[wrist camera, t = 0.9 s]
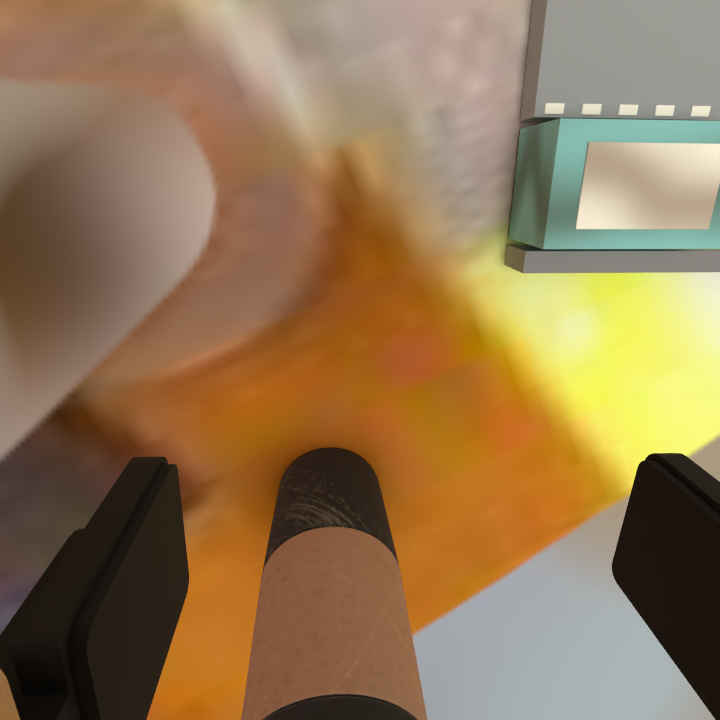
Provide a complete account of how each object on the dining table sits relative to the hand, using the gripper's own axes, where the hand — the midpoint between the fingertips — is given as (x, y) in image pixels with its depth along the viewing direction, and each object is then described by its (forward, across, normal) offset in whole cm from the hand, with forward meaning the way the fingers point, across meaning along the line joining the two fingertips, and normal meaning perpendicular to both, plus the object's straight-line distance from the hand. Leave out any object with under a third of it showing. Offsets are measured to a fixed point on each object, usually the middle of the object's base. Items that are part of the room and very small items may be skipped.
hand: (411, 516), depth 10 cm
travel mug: (+22, +1, +15) cm, 26 cm away
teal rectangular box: (+22, -14, -6) cm, 27 cm away
